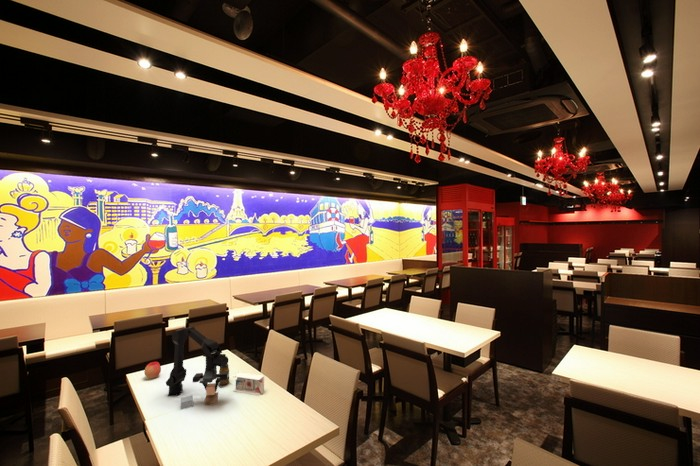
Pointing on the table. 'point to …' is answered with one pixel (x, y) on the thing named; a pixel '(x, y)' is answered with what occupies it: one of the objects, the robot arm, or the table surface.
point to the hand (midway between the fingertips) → (211, 391)
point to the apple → (152, 370)
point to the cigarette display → (249, 383)
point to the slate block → (187, 402)
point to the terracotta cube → (210, 389)
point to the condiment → (226, 382)
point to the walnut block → (211, 399)
